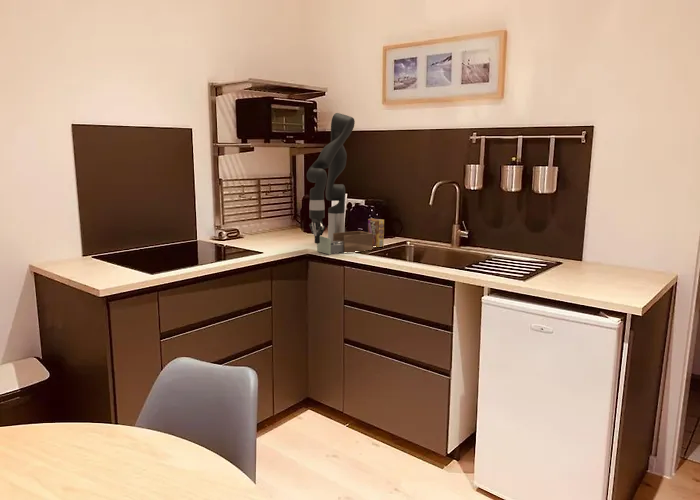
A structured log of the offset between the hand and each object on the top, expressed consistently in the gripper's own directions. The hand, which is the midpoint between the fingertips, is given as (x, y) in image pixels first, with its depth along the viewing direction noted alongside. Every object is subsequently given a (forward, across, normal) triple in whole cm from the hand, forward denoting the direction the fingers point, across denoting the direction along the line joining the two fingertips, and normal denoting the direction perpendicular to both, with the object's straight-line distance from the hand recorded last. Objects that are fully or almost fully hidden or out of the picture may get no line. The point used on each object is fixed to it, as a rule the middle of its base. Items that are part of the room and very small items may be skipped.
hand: (317, 243), depth 268 cm
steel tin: (+4, 0, -12) cm, 13 cm away
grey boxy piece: (+5, 0, -12) cm, 13 cm away
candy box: (+6, +3, -37) cm, 38 cm away
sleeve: (+5, 0, -20) cm, 21 cm away
